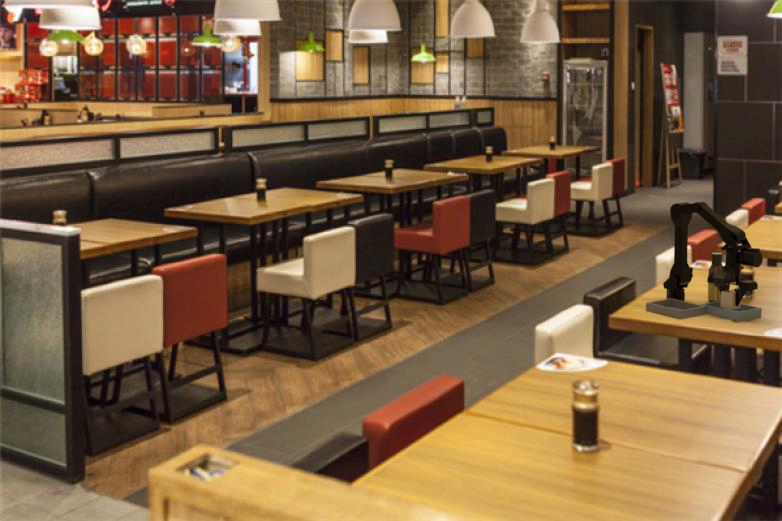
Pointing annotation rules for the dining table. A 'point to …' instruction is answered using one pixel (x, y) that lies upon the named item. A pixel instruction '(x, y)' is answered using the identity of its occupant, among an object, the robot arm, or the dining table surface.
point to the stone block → (729, 300)
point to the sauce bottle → (714, 269)
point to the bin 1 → (675, 308)
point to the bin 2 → (733, 311)
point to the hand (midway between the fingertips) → (730, 304)
